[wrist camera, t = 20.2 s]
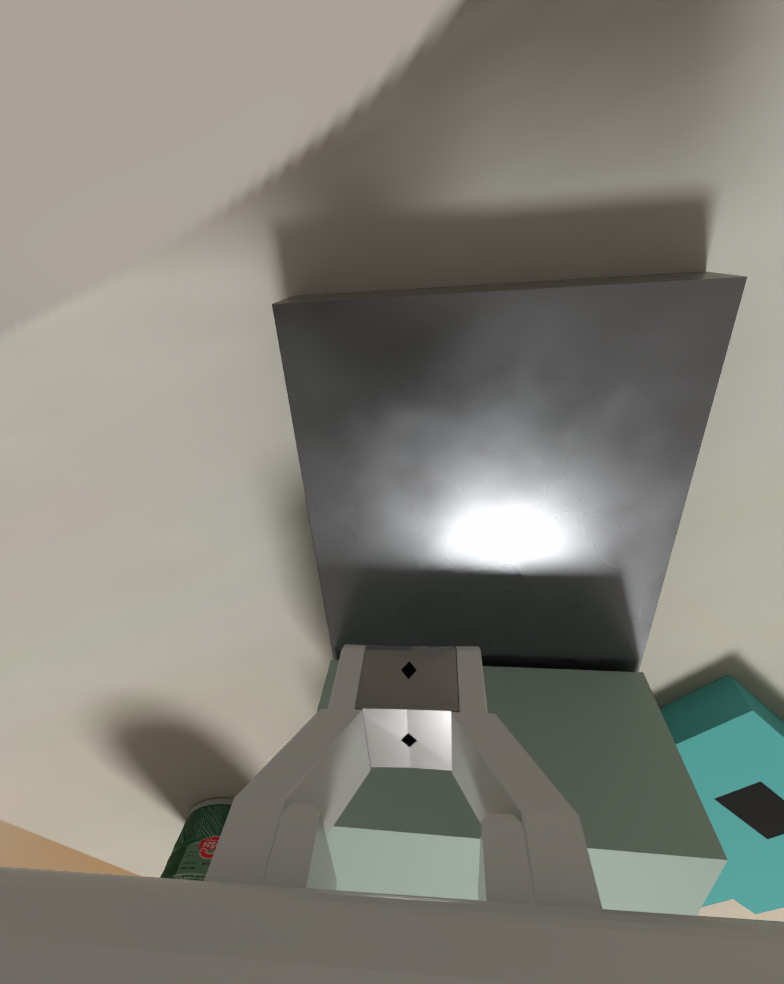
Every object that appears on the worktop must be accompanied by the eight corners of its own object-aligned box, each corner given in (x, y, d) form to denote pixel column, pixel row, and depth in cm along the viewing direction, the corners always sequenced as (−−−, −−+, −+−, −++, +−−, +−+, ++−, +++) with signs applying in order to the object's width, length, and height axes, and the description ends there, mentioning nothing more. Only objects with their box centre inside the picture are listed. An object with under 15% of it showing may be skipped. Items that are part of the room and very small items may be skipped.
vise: (372, 817, 29) (348, 1004, 22) (293, 296, 14) (148, 349, 7) (573, 834, 27) (617, 1040, 20) (706, 271, 13) (1011, 308, 6)
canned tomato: (164, 811, 31) (37, 1066, 21) (250, 786, 28) (149, 1064, 19) (241, 867, 34) (159, 1115, 24) (325, 849, 31) (271, 1119, 22)
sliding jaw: (347, 750, 22) (315, 913, 16) (331, 659, 19) (286, 822, 14) (616, 767, 20) (675, 952, 15) (642, 672, 17) (727, 859, 12)
